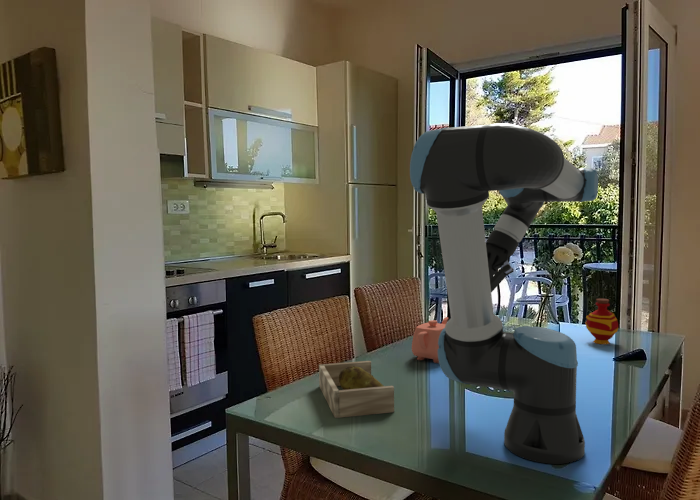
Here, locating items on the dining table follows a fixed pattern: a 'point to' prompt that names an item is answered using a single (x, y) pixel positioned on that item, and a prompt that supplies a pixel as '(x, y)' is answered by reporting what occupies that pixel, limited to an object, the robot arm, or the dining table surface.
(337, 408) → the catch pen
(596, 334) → the red yellow vase
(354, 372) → the potato
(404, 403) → the dining table surface
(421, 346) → the teapot
